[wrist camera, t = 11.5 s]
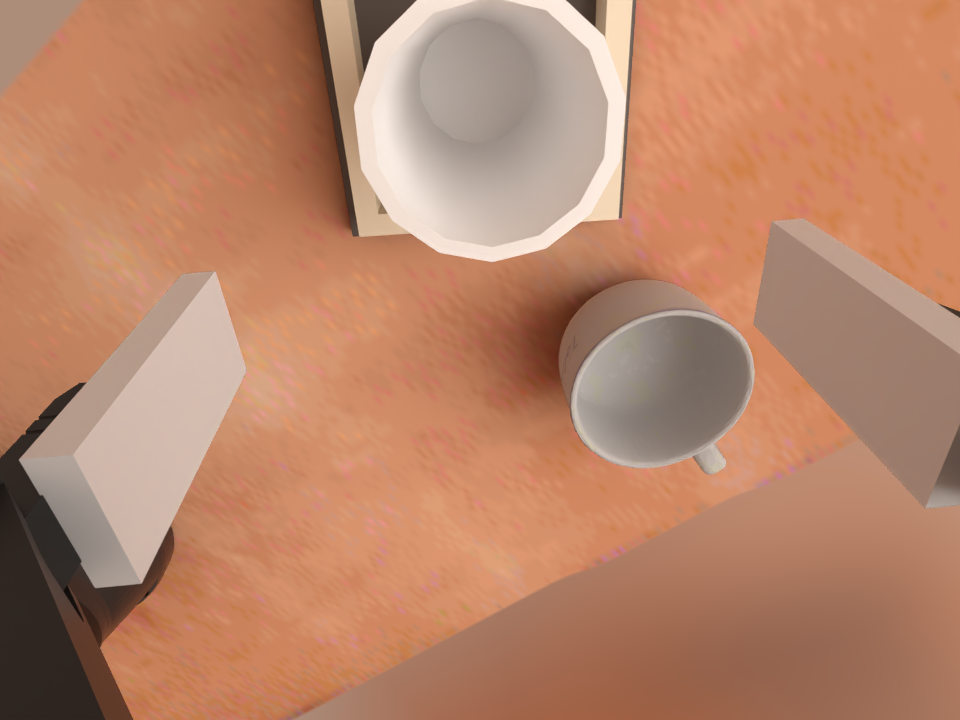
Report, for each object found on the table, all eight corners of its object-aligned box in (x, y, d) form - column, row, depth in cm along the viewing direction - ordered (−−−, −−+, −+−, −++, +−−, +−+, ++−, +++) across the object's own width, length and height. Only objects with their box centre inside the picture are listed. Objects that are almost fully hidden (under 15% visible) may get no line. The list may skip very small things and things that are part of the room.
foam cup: (428, -61, 29) (417, -86, 18) (596, 30, 32) (677, 57, 21) (362, 131, 34) (321, 204, 23) (514, 199, 36) (545, 295, 25)
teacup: (525, 301, 41) (541, 365, 34) (683, 229, 39) (734, 282, 32) (598, 446, 48) (623, 524, 41) (736, 392, 46) (787, 464, 39)
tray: (355, 229, 38) (347, 251, 35) (301, -95, 29) (284, -104, 26) (616, 211, 38) (631, 231, 35) (637, -116, 30) (659, -127, 27)
